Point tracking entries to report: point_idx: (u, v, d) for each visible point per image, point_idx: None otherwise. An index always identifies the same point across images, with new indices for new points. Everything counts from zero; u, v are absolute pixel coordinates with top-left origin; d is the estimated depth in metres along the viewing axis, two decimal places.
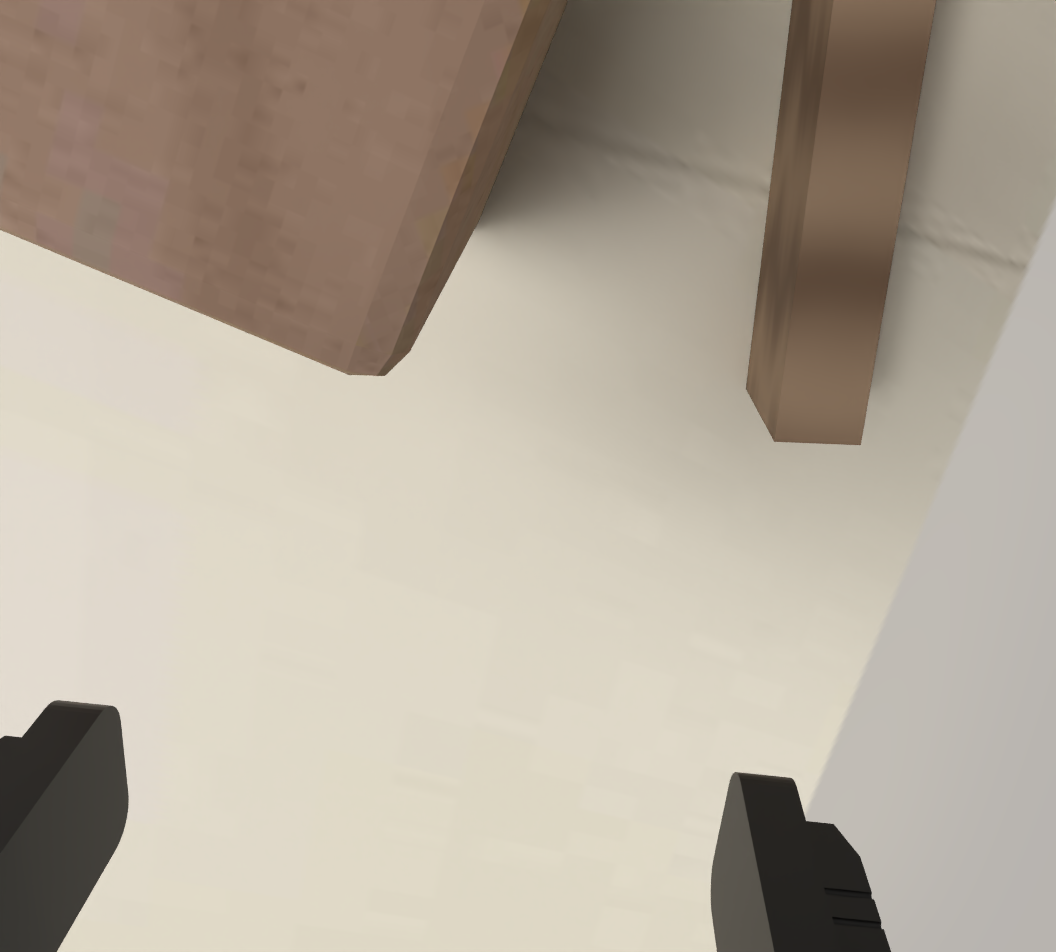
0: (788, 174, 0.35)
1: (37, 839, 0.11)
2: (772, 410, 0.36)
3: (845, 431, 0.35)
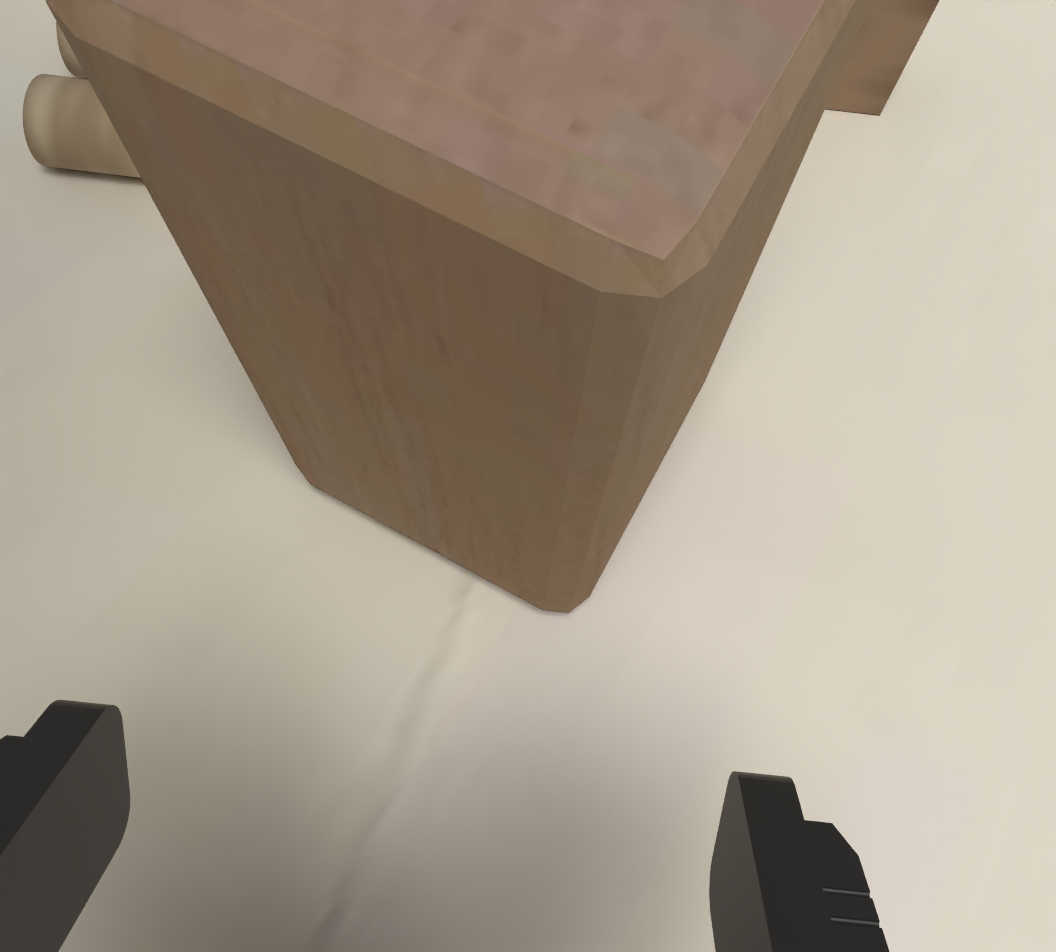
0: None
1: (40, 837, 0.11)
2: (909, 3, 0.32)
3: None
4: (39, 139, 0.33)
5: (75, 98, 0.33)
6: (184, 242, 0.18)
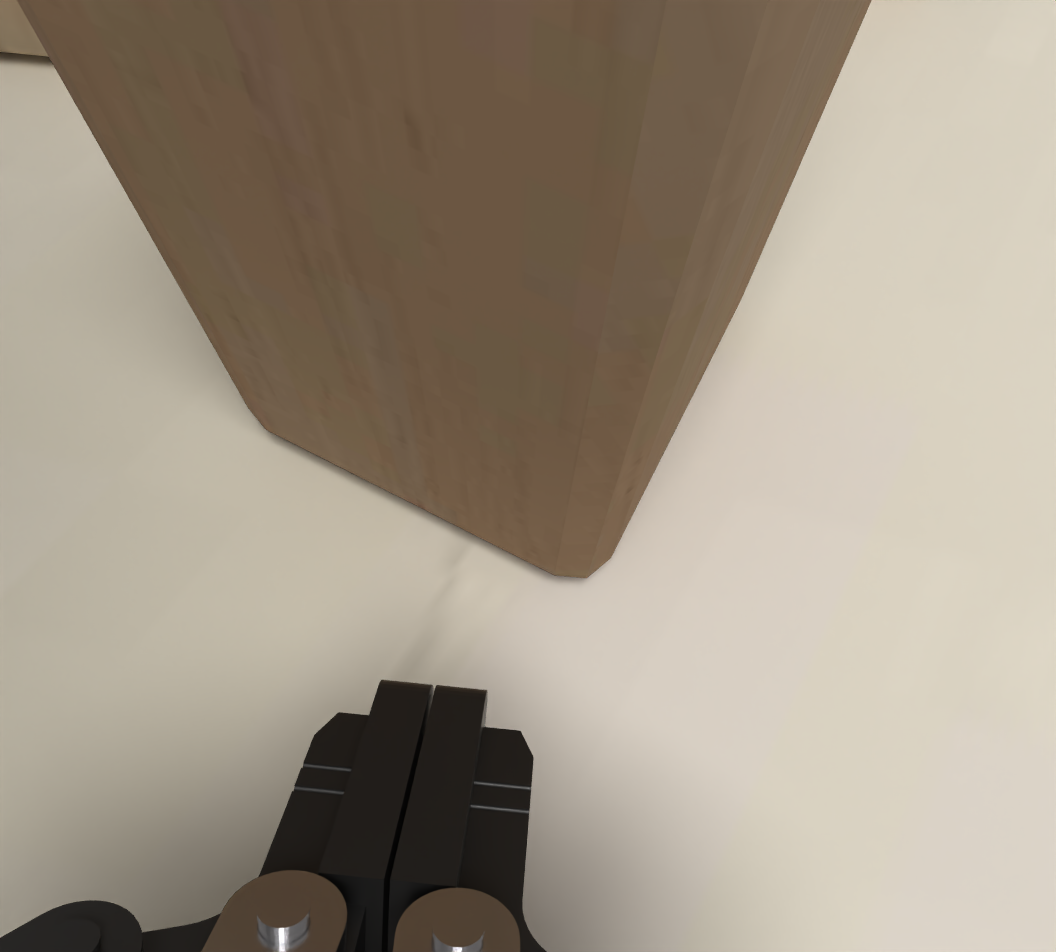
0: None
1: (407, 804, 0.12)
2: None
3: None
4: None
5: None
6: (42, 24, 0.13)
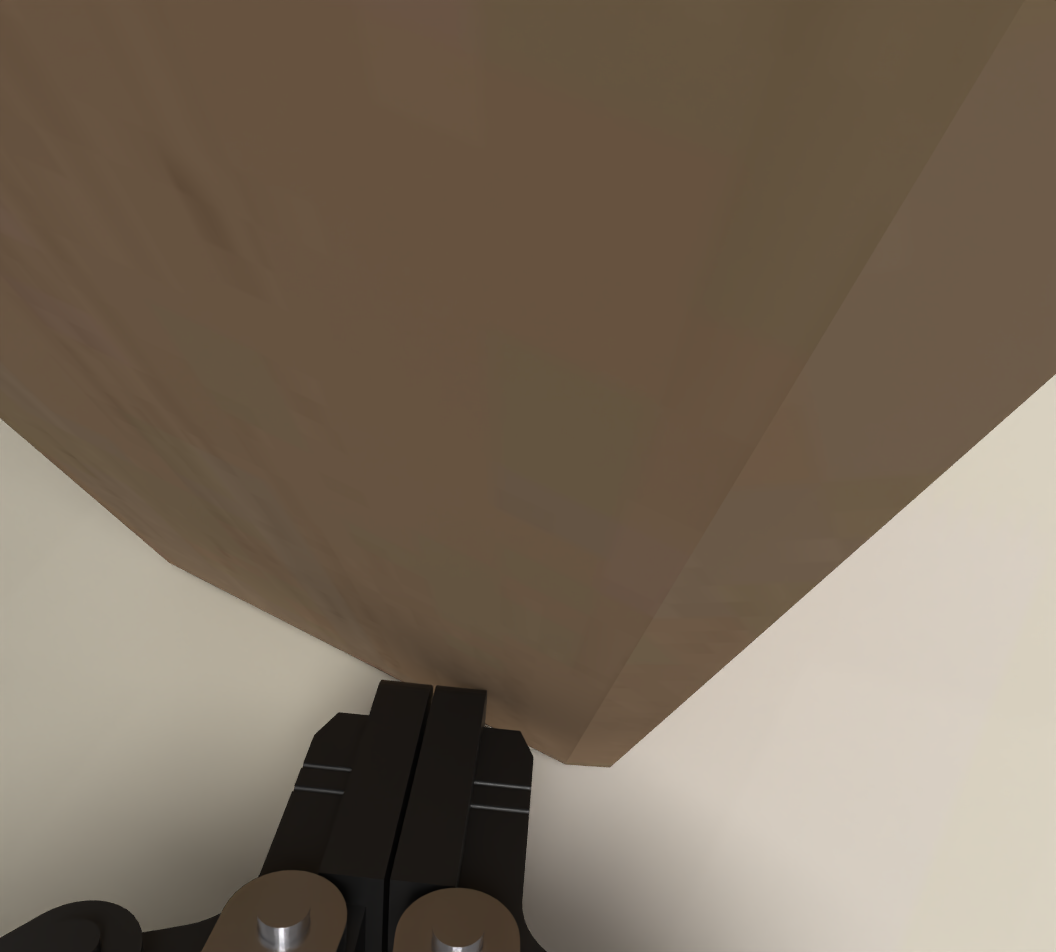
0: None
1: None
2: None
3: None
4: None
5: None
6: None
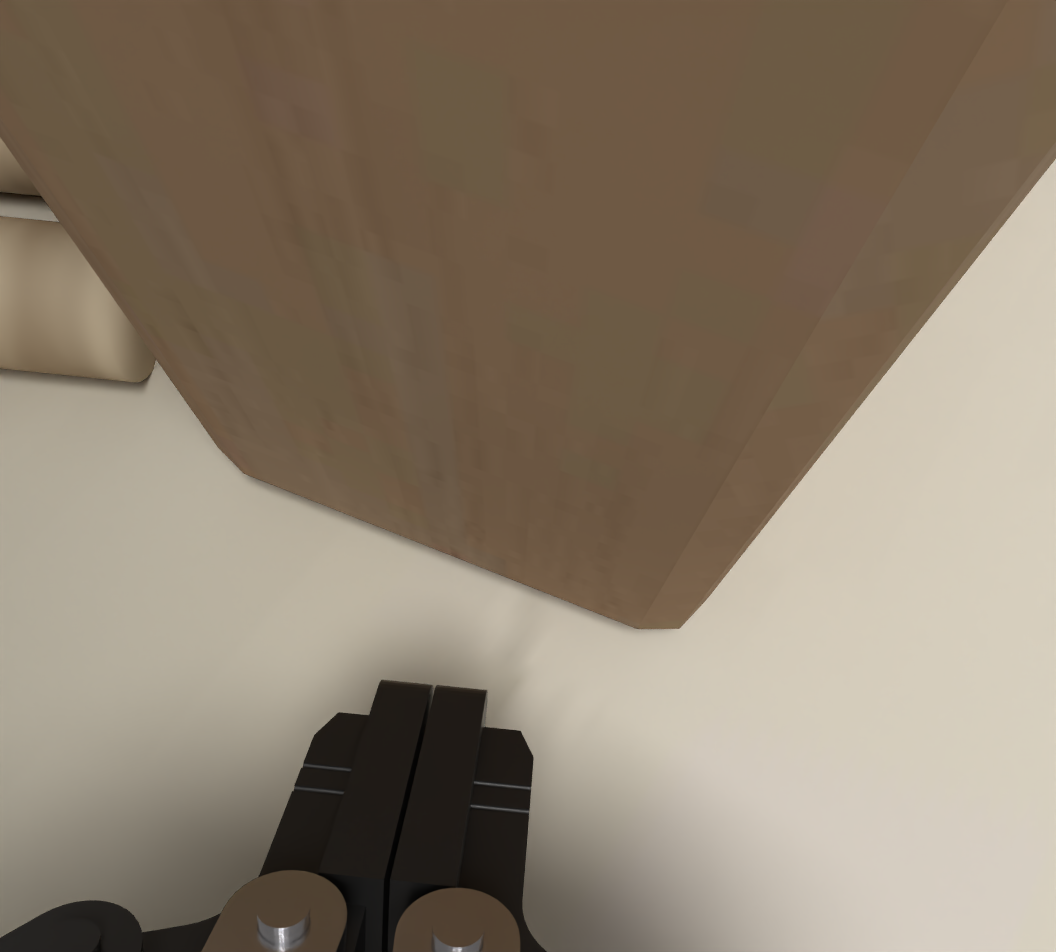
0: None
1: (407, 804, 0.12)
2: None
3: None
4: None
5: None
6: None
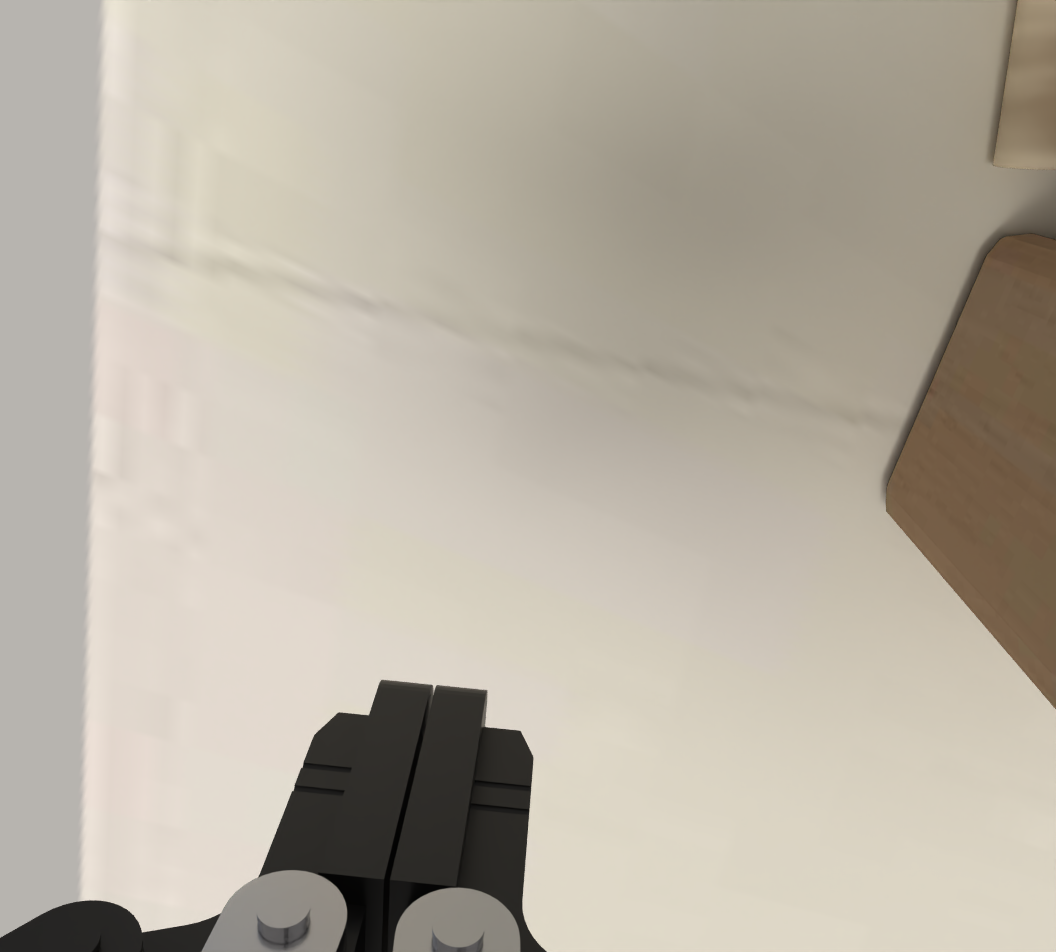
0: None
1: (407, 804, 0.12)
2: None
3: None
4: None
5: None
6: None
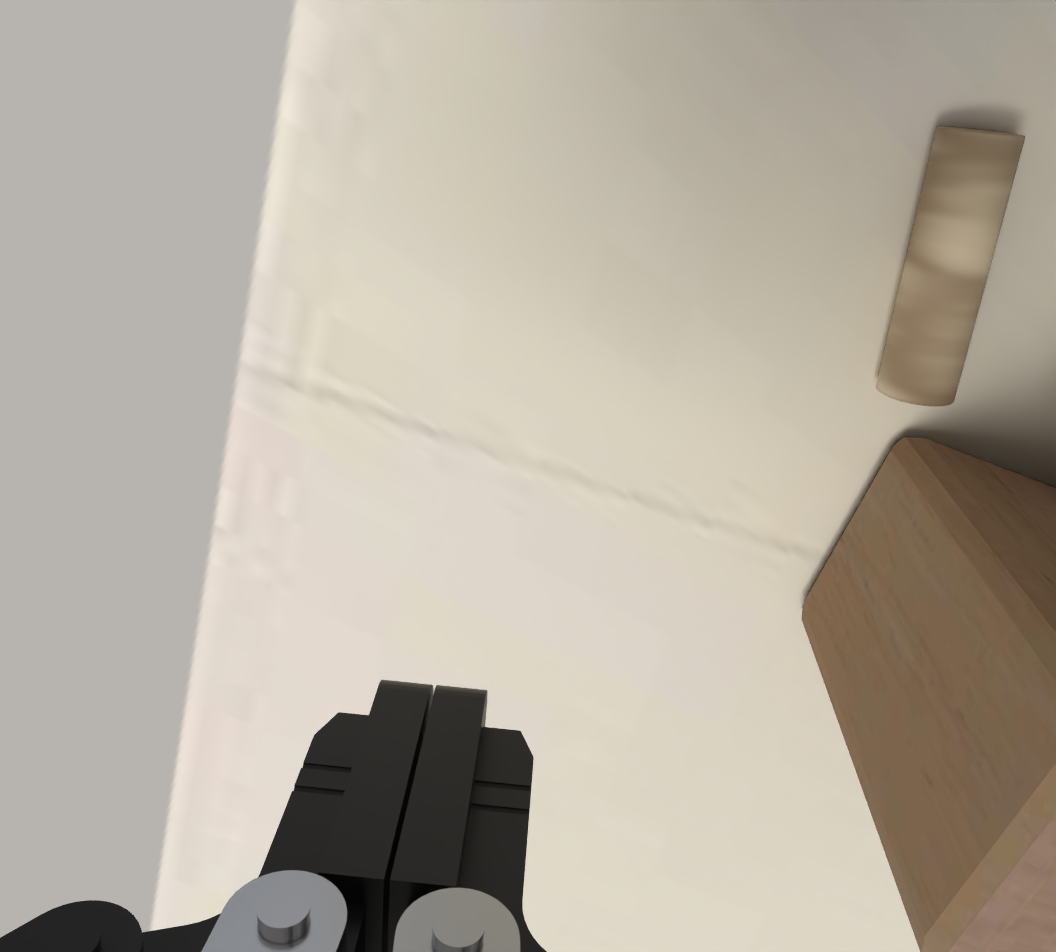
0: None
1: (407, 804, 0.12)
2: None
3: None
4: None
5: None
6: (1010, 619, 0.30)
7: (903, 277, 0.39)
